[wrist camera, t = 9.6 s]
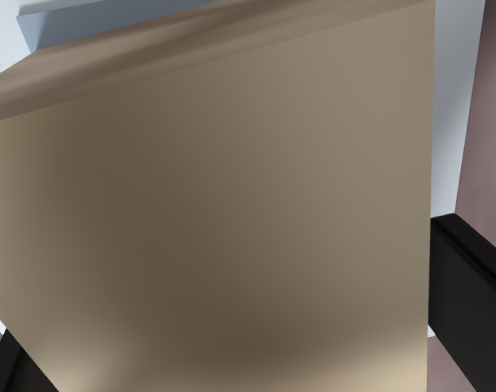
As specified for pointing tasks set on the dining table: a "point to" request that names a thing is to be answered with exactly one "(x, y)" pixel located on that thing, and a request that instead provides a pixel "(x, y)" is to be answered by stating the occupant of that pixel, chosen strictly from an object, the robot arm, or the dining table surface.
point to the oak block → (224, 200)
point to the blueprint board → (163, 3)
